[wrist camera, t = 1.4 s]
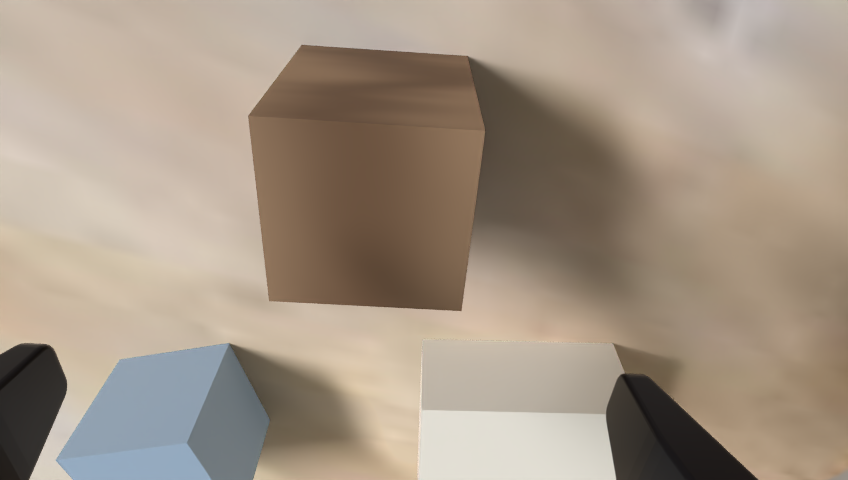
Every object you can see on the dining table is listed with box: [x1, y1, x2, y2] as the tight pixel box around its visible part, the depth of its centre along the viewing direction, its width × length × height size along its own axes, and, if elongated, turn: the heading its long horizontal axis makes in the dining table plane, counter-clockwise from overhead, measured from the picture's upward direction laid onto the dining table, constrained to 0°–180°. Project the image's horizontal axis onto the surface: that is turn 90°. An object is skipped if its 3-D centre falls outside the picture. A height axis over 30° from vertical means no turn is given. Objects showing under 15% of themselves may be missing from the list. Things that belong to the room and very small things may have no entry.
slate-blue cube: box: [56, 343, 270, 480], centre depth 23 cm, size 5×5×5 cm
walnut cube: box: [248, 45, 485, 311], centre depth 16 cm, size 5×5×6 cm
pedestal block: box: [418, 339, 625, 480], centre depth 24 cm, size 8×8×4 cm
